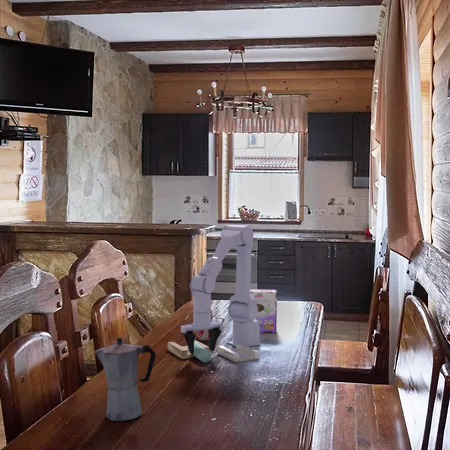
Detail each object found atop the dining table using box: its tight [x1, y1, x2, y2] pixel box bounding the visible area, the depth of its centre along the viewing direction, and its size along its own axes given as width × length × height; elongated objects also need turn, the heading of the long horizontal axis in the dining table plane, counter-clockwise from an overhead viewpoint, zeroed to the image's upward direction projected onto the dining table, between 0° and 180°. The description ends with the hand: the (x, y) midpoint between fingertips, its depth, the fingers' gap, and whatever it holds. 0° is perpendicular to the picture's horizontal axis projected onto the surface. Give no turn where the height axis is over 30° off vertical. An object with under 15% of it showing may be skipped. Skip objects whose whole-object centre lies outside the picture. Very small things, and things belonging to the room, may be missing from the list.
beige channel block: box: [167, 339, 210, 360], centre depth 215 cm, size 10×12×3 cm
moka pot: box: [94, 337, 157, 422], centre depth 157 cm, size 10×15×20 cm, turn 95°
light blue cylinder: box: [188, 342, 213, 364], centre depth 207 cm, size 10×4×4 cm, turn 29°
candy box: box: [250, 288, 278, 334], centre depth 245 cm, size 14×6×16 cm, turn 84°
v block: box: [217, 343, 260, 363], centre depth 211 cm, size 9×12×3 cm
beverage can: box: [195, 309, 214, 342], centre depth 232 cm, size 6×6×12 cm
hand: (201, 351), depth 205 cm, fingers open, 7 cm apart
